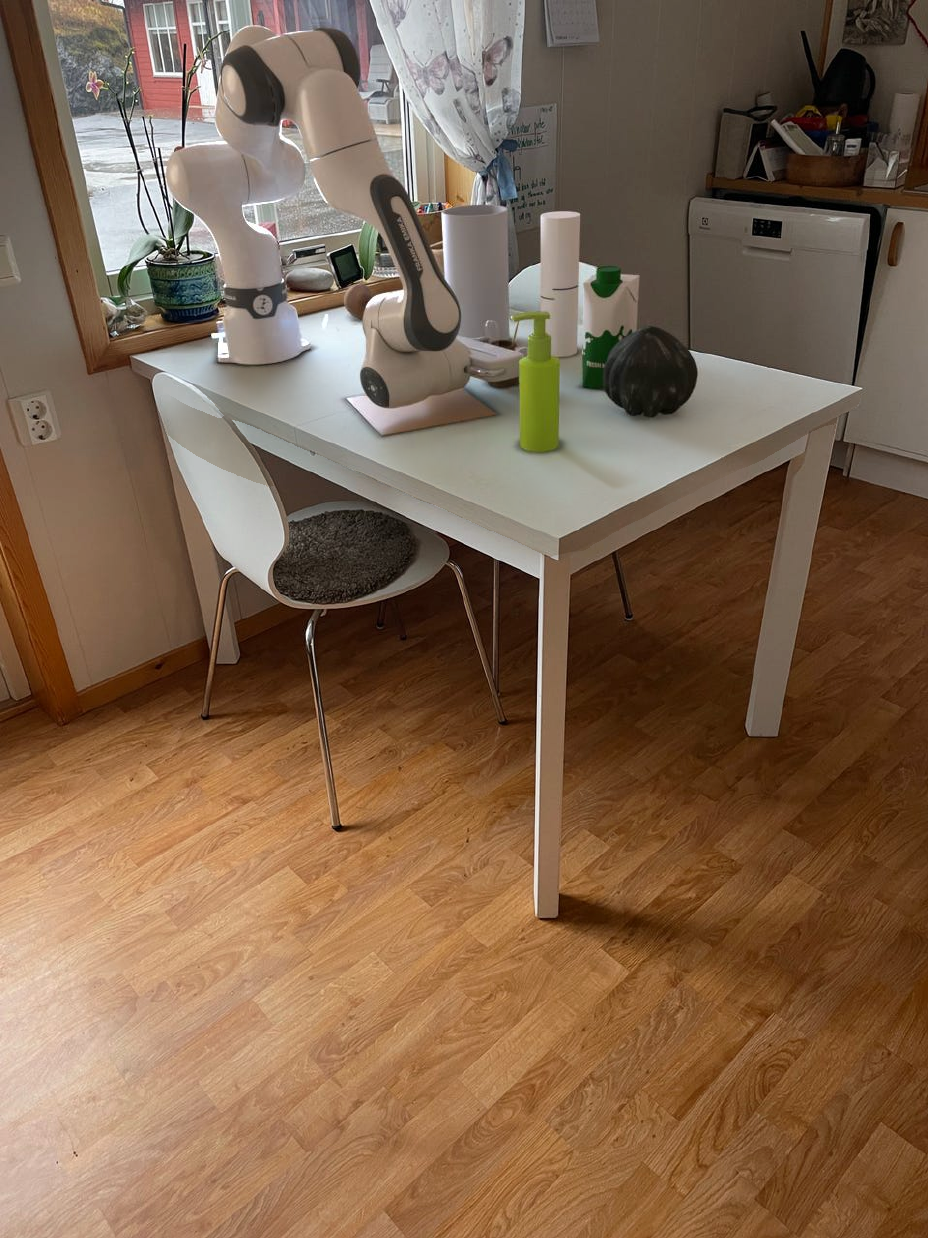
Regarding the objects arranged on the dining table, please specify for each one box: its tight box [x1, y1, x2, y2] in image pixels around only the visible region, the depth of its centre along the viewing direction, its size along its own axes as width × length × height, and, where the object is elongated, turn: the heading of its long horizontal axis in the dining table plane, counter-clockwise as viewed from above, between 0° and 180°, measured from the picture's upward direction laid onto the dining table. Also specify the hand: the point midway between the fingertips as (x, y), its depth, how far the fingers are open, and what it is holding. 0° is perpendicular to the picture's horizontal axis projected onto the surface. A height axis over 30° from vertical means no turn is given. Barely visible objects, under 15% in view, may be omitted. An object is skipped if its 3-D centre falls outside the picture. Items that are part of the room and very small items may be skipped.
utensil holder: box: [485, 320, 520, 388], centre depth 170 cm, size 6×6×12 cm
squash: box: [603, 325, 699, 419], centre depth 155 cm, size 14×15×15 cm
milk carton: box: [581, 265, 641, 390], centre depth 165 cm, size 9×9×20 cm
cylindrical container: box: [539, 210, 581, 358], centre depth 181 cm, size 7×7×25 cm
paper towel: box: [345, 387, 497, 437], centre depth 164 cm, size 20×20×1 cm
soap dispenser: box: [510, 310, 561, 453], centre depth 142 cm, size 6×7×20 cm
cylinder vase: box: [441, 204, 510, 342], centre depth 188 cm, size 12×12×25 cm
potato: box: [343, 283, 375, 319], centre depth 214 cm, size 7×10×7 cm
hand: (506, 346), depth 170 cm, fingers open, 8 cm apart
